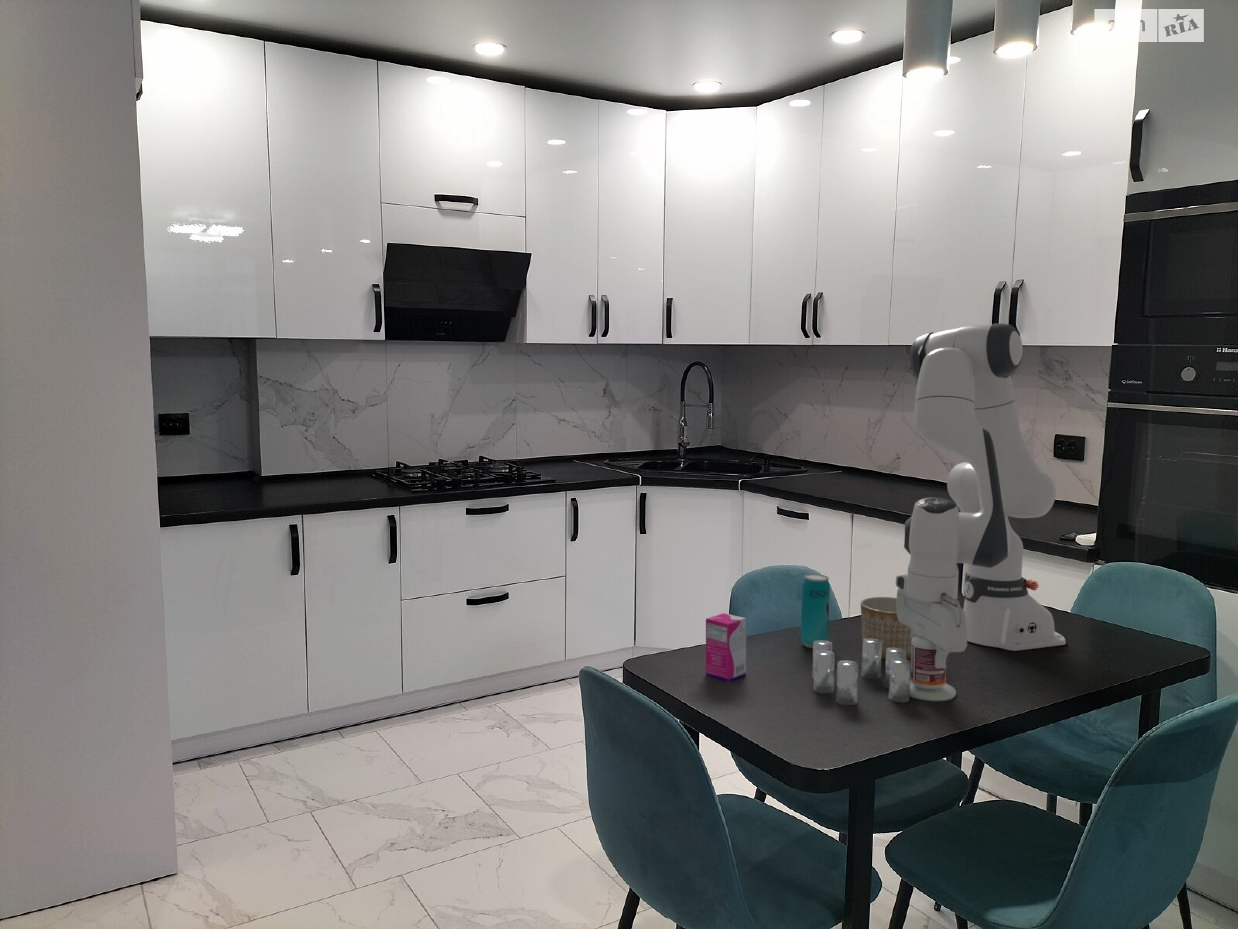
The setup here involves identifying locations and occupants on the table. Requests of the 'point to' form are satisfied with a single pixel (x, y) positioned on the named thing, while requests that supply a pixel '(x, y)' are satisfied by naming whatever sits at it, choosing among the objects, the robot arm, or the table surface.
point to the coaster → (932, 693)
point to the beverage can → (814, 609)
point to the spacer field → (871, 669)
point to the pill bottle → (925, 662)
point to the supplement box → (726, 647)
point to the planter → (884, 624)
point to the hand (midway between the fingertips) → (928, 660)
